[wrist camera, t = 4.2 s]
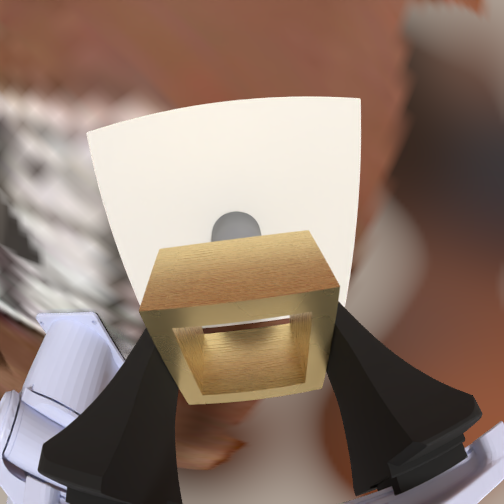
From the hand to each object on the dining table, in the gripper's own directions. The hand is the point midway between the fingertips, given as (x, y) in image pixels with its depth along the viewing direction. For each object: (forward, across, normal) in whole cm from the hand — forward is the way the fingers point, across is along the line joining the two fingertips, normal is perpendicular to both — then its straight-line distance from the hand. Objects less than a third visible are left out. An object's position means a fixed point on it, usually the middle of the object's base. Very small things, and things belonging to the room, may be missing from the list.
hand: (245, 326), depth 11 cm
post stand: (+9, 0, 0) cm, 9 cm away
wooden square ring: (+2, 0, 0) cm, 2 cm away
